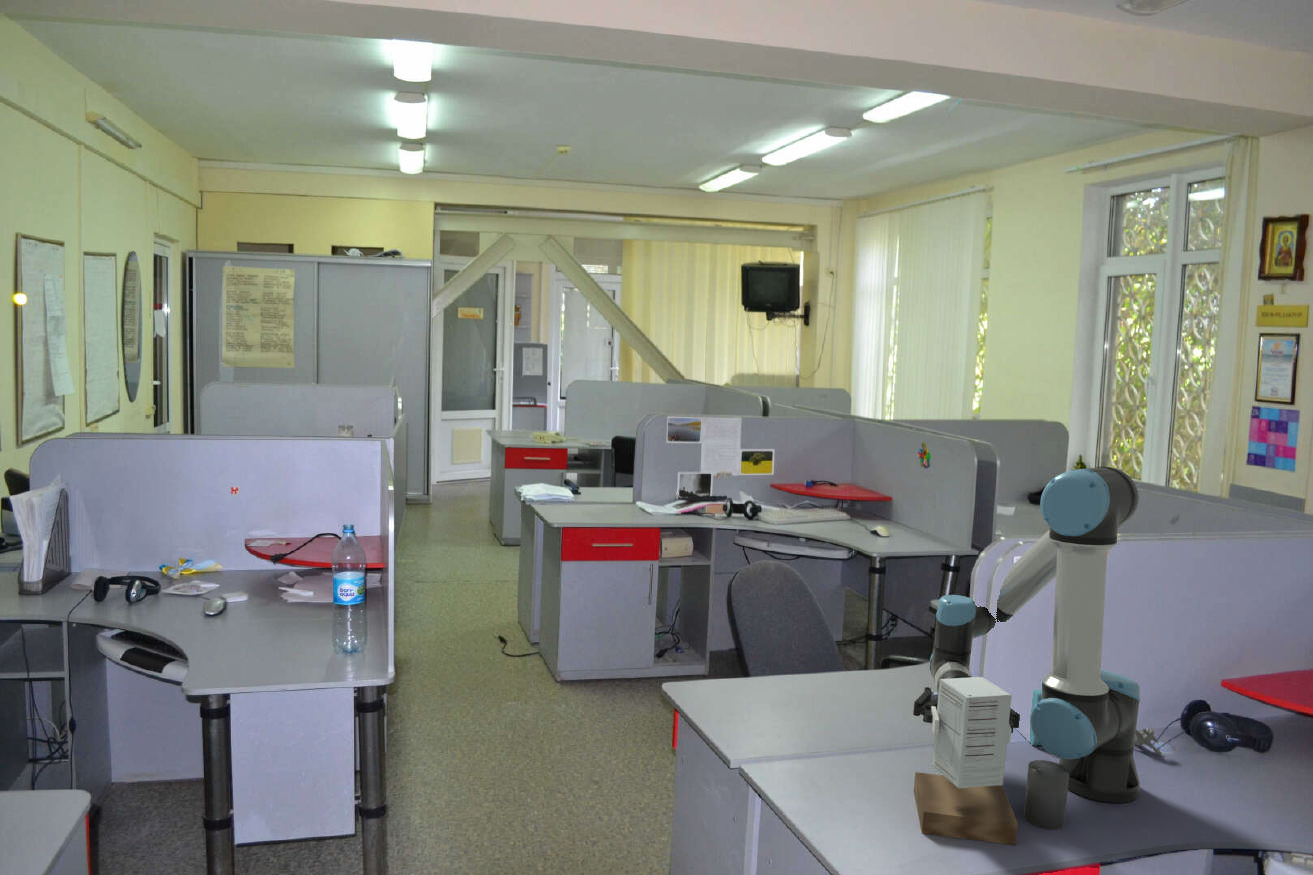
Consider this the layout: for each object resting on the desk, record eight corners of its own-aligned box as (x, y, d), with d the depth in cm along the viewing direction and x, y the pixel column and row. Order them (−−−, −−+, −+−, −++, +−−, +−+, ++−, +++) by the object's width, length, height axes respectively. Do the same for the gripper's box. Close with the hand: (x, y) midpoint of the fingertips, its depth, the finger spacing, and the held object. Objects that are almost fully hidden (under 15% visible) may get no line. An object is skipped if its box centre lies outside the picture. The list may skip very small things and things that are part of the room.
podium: (999, 802, 187) (1001, 782, 186) (1015, 845, 171) (1017, 823, 170) (913, 791, 189) (915, 771, 189) (921, 832, 174) (923, 811, 173)
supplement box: (1004, 786, 173) (1014, 695, 171) (958, 789, 171) (968, 697, 169) (973, 761, 183) (983, 675, 180) (929, 764, 180) (938, 677, 178)
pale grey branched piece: (1153, 742, 219) (1175, 745, 210) (1137, 762, 218) (1158, 766, 209) (1118, 710, 221) (1139, 711, 212) (1102, 730, 220) (1122, 732, 211)
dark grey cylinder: (1059, 813, 183) (1064, 762, 182) (1068, 831, 177) (1073, 779, 175) (1020, 808, 185) (1025, 758, 183) (1027, 826, 178) (1033, 774, 177)
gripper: (1016, 712, 194) (1040, 760, 173) (893, 698, 198) (901, 743, 176) (1020, 676, 193) (1045, 719, 172) (896, 662, 197) (905, 703, 176)
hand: (972, 731), depth 174 cm, fingers closed on supplement box, 12 cm apart
